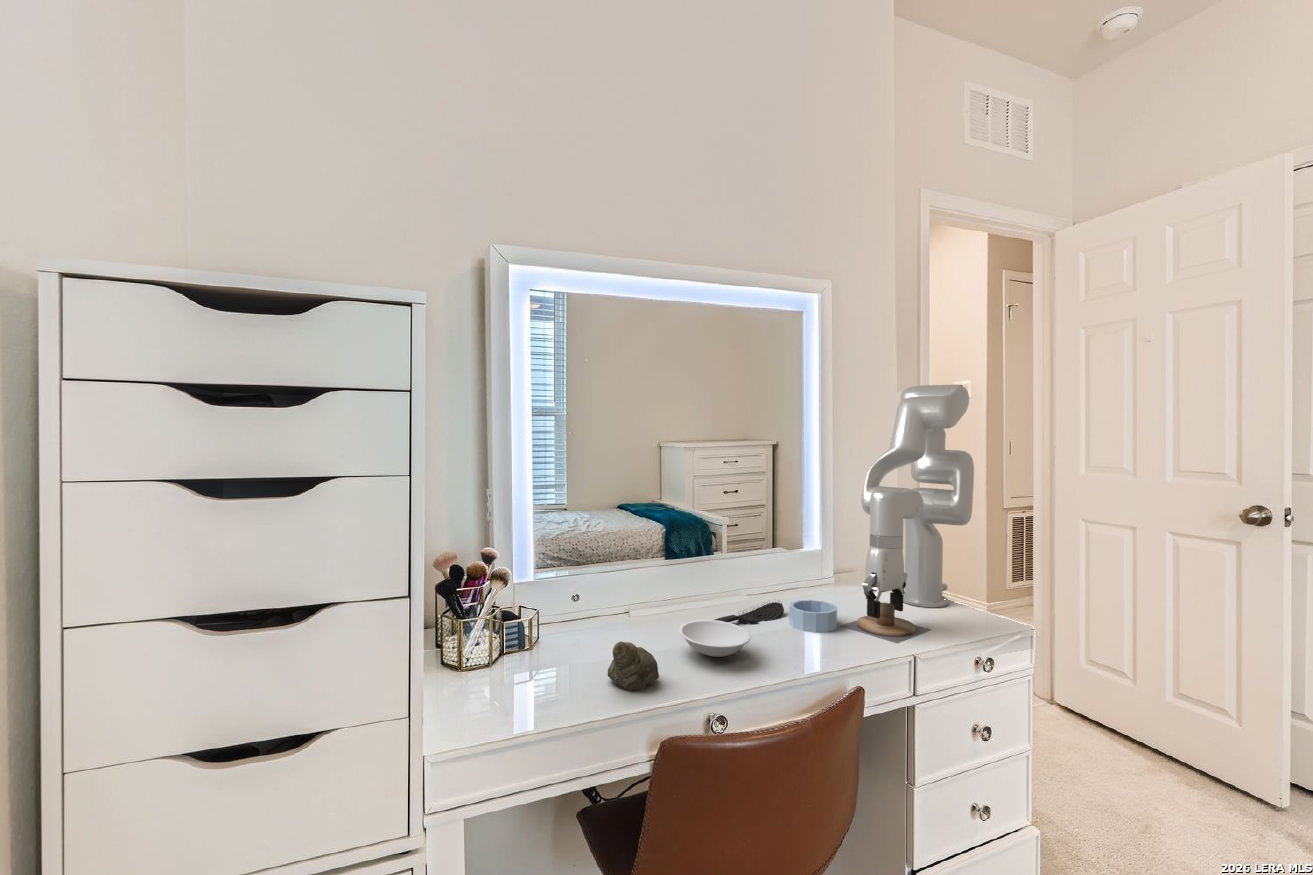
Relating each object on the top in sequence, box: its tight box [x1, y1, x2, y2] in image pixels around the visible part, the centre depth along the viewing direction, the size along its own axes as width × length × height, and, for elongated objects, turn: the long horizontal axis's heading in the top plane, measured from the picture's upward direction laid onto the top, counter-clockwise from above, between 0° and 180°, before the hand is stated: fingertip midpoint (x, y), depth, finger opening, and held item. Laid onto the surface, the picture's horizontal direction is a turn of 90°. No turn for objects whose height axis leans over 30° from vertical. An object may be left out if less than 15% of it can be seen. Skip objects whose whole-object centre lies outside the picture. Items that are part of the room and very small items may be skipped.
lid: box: [856, 602, 915, 637], centre depth 149 cm, size 13×13×6 cm
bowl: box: [788, 599, 838, 634], centre depth 151 cm, size 11×11×5 cm
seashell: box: [606, 640, 660, 691], centre depth 119 cm, size 11×12×10 cm
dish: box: [678, 619, 752, 658], centre depth 132 cm, size 18×14×5 cm
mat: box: [840, 620, 932, 644], centre depth 149 cm, size 15×15×1 cm
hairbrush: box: [713, 599, 785, 625], centre depth 155 cm, size 8×4×25 cm
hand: (885, 613), depth 149 cm, fingers open, 9 cm apart
